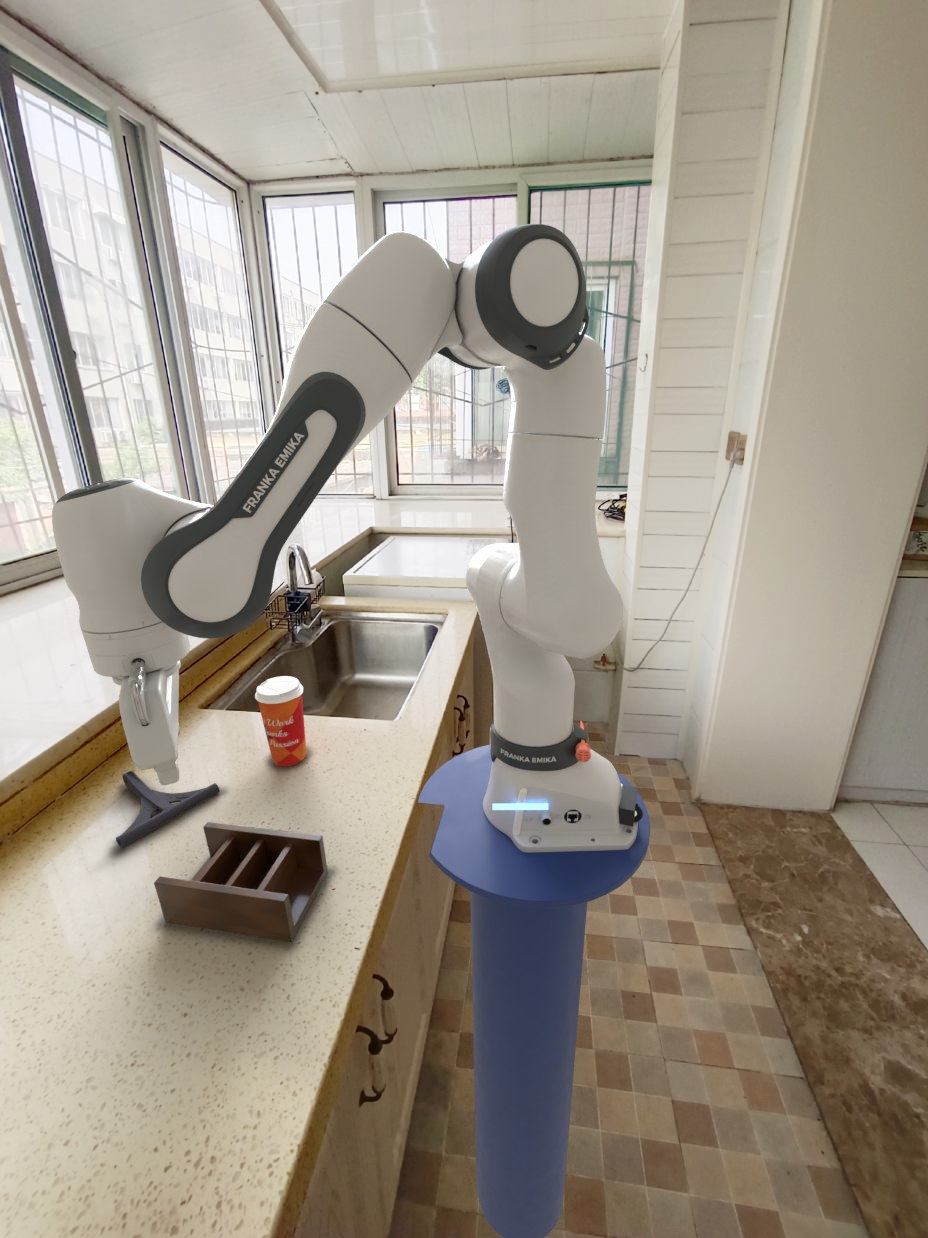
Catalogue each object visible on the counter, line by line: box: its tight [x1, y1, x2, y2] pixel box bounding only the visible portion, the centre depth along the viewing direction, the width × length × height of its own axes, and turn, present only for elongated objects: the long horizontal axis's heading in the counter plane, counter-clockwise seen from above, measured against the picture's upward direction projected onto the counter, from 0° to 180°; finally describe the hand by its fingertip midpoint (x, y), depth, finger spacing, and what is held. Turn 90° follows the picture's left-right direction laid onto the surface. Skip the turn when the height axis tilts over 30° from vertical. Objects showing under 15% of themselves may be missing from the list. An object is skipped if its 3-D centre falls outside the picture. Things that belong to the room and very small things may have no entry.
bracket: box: [115, 769, 220, 849], centre depth 83 cm, size 14×15×3 cm
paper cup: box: [254, 675, 307, 767], centre depth 91 cm, size 8×8×14 cm
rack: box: [153, 821, 329, 943], centre depth 66 cm, size 16×10×6 cm, turn 80°
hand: (171, 756), depth 60 cm, fingers open, 8 cm apart
